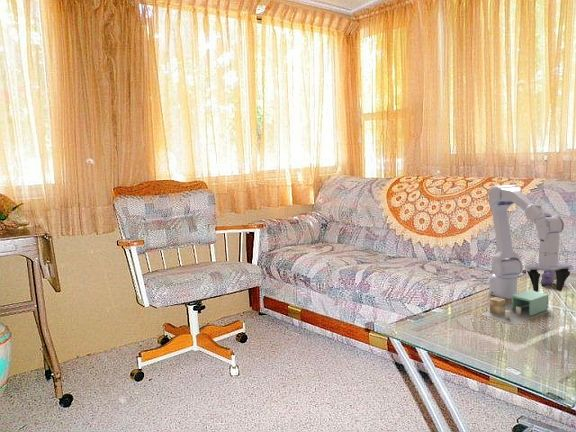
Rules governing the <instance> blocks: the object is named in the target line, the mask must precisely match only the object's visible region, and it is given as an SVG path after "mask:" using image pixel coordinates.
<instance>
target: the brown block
mask: <svg viewBox="0 0 576 432" xmlns="http://www.w3.org/2000/svg"><path fill="white" fill-rule="evenodd" d="M505 306H506V298H501V297H498V296H495V297H492V298H489V311H490V312H493V313H496V314H501V313H503V312H505Z"/></svg>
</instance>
